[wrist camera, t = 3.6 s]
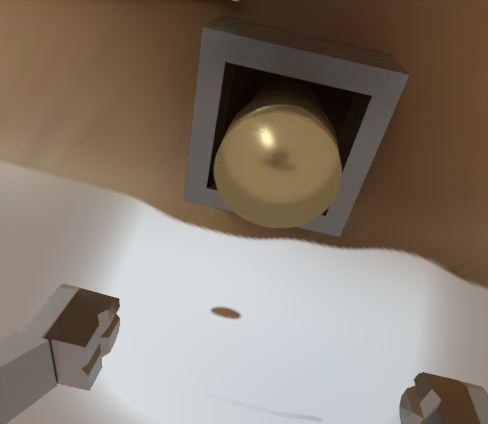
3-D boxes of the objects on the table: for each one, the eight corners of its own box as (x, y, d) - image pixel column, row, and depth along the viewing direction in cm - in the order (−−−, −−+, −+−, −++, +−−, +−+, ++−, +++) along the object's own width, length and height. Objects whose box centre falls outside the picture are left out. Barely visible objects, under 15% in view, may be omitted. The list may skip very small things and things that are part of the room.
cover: (232, 149, 26) (206, 213, 19) (248, 59, 23) (224, 101, 16) (316, 168, 26) (319, 239, 19) (345, 82, 22) (361, 132, 16)
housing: (200, 167, 27) (183, 200, 23) (220, 15, 21) (202, 27, 18) (335, 199, 27) (339, 237, 23) (391, 55, 21) (409, 75, 18)
